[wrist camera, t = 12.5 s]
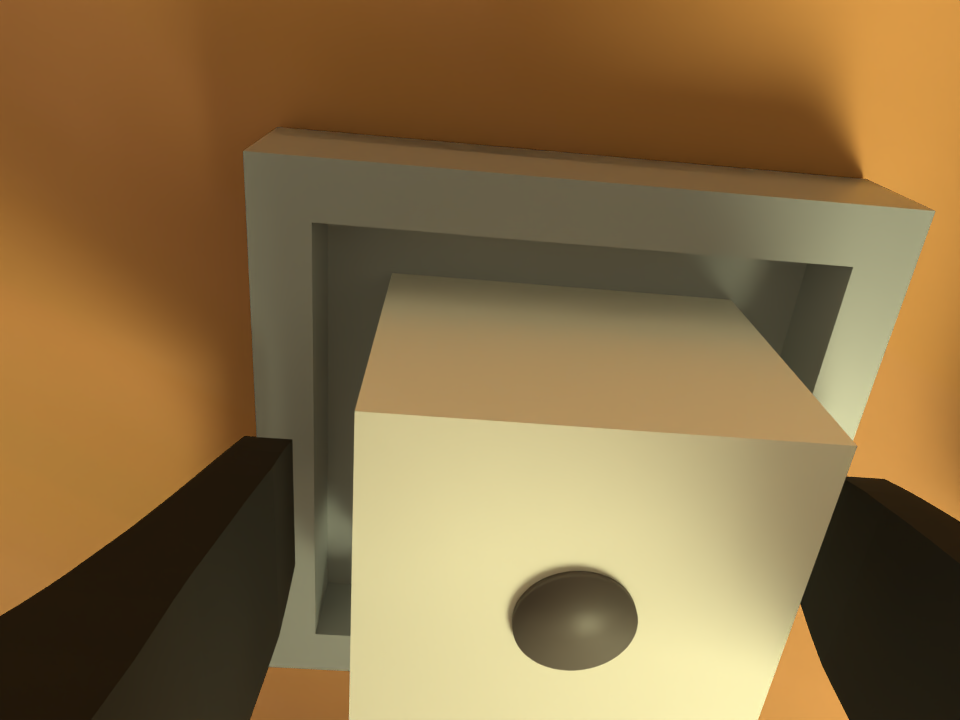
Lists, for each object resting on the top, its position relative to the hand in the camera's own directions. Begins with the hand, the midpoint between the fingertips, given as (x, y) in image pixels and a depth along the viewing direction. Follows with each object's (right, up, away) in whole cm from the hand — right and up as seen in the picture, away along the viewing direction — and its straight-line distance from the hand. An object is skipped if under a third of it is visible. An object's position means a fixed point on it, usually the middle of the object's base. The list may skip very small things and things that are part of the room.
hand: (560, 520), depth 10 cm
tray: (0, +1, +3) cm, 3 cm away
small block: (0, +1, +2) cm, 2 cm away
